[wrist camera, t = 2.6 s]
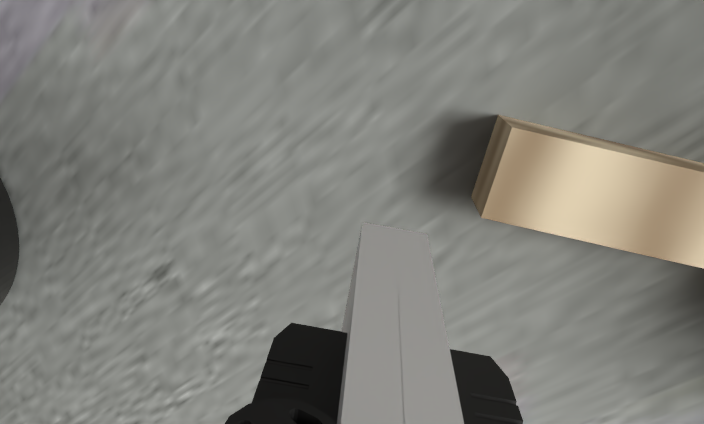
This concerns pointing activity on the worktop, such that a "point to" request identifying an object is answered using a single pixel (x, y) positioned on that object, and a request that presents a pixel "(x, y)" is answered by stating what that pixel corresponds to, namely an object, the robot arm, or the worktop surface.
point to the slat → (593, 191)
